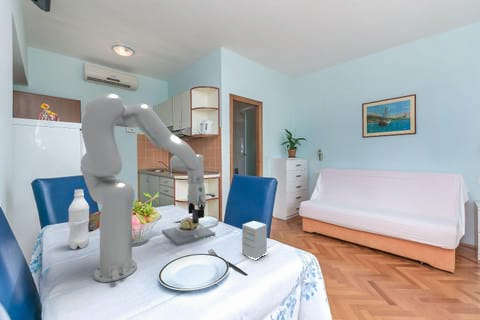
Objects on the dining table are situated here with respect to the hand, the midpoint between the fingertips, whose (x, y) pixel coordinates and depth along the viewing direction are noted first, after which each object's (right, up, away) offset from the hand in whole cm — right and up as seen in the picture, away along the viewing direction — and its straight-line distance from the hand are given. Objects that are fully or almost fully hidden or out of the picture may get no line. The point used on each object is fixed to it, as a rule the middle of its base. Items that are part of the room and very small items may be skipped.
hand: (196, 215), depth 99 cm
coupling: (-4, -9, +4) cm, 11 cm away
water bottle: (-49, -11, -9) cm, 51 cm away
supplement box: (+27, -12, -15) cm, 33 cm away
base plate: (-5, -11, +6) cm, 14 cm away
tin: (-58, -11, +15) cm, 61 cm away
